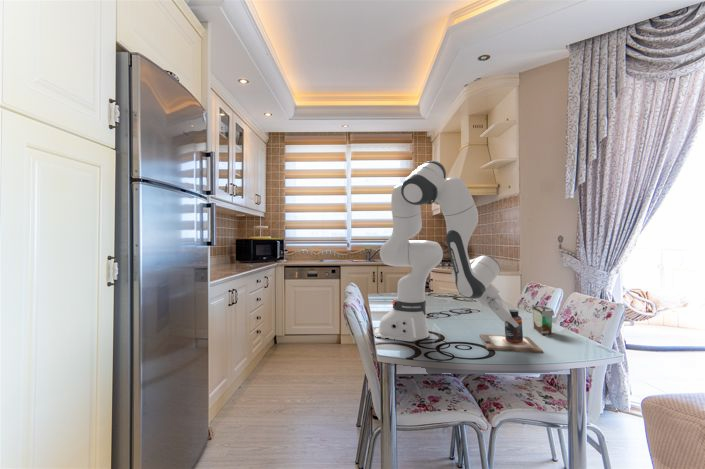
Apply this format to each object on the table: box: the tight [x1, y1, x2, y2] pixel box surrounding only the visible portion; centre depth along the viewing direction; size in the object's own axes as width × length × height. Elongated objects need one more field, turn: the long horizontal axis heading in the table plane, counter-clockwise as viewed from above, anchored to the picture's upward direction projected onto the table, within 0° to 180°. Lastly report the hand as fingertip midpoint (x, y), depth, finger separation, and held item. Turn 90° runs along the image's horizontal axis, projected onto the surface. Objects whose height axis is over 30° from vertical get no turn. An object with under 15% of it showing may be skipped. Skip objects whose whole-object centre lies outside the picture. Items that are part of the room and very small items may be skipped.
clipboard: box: [479, 333, 544, 354], centre depth 120 cm, size 18×16×2 cm
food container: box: [531, 305, 555, 336], centre depth 135 cm, size 12×6×10 cm, turn 168°
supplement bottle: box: [503, 309, 524, 343], centre depth 120 cm, size 6×6×11 cm
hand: (515, 323), depth 120 cm, fingers open, 6 cm apart
